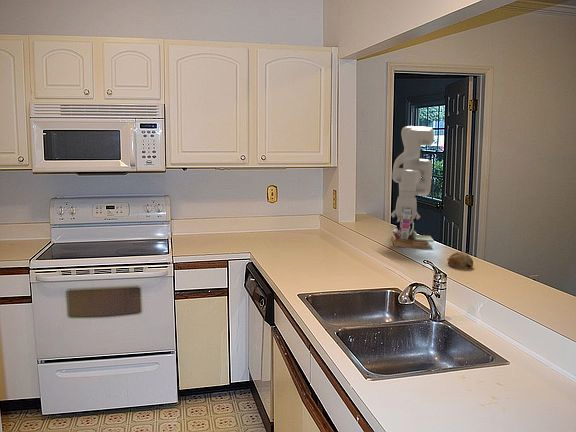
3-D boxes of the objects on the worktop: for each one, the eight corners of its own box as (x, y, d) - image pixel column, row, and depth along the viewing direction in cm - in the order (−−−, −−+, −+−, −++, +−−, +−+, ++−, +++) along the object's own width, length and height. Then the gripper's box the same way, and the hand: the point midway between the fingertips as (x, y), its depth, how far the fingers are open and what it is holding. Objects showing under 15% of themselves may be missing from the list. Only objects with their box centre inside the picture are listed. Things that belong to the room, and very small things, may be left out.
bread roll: (456, 277, 225) (465, 262, 221) (440, 262, 232) (448, 247, 228) (472, 275, 230) (480, 260, 227) (456, 260, 238) (464, 246, 234)
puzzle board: (391, 239, 284) (392, 233, 283) (422, 242, 282) (423, 235, 282) (394, 246, 266) (394, 238, 266) (427, 249, 264) (428, 241, 264)
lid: (411, 235, 280) (411, 229, 280) (429, 237, 279) (430, 230, 279) (413, 240, 267) (414, 233, 266) (433, 242, 266) (434, 235, 265)
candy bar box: (409, 241, 269) (412, 208, 266) (399, 240, 269) (402, 207, 267) (407, 237, 280) (409, 205, 277) (397, 236, 280) (400, 205, 278)
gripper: (423, 195, 274) (420, 230, 276) (389, 192, 276) (386, 227, 278) (425, 196, 266) (422, 232, 269) (390, 193, 268) (387, 230, 271)
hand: (404, 229), depth 274 cm, fingers closed on candy bar box, 5 cm apart
